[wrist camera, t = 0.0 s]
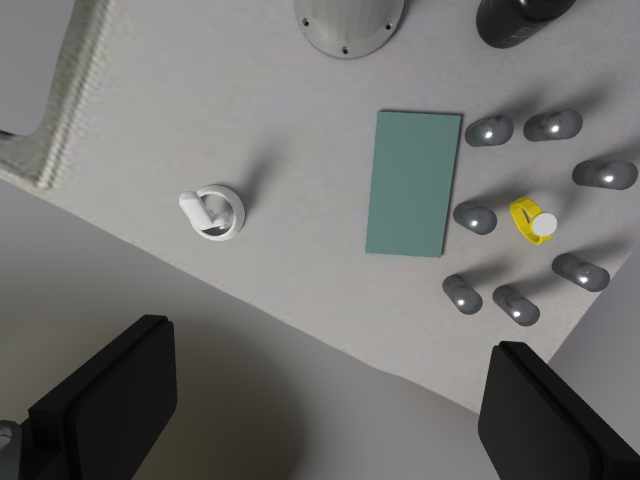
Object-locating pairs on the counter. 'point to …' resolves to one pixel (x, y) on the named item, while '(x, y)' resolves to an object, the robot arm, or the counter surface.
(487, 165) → the counter surface
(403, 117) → the mat
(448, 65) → the counter surface
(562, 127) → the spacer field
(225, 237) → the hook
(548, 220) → the watch
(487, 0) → the supplement bottle
